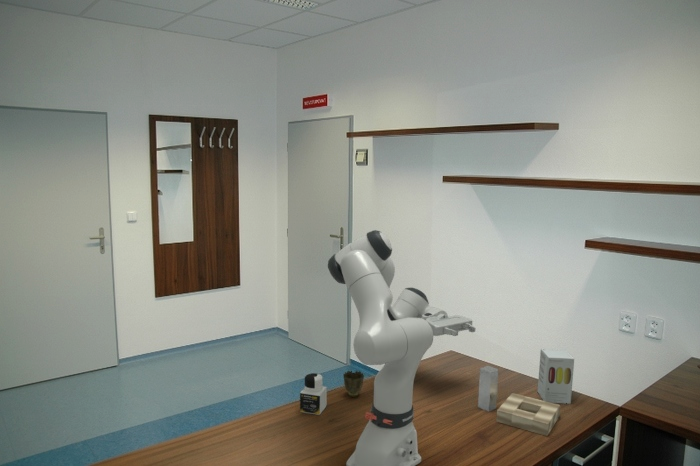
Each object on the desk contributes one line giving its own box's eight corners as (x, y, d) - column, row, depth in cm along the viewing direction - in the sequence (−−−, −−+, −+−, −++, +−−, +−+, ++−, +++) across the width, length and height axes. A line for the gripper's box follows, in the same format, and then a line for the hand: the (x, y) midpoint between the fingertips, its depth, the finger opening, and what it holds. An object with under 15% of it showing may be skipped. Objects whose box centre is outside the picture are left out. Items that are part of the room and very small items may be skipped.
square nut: (547, 436, 163) (548, 424, 162) (496, 421, 172) (497, 410, 171) (559, 416, 176) (560, 405, 175) (511, 403, 185) (512, 392, 184)
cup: (364, 391, 193) (364, 370, 192) (362, 400, 186) (363, 378, 185) (344, 390, 194) (344, 369, 193) (342, 399, 186) (342, 377, 185)
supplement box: (544, 402, 186) (547, 357, 184) (536, 391, 195) (539, 348, 193) (571, 404, 185) (575, 358, 183) (563, 392, 194) (566, 349, 192)
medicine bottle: (299, 412, 176) (299, 378, 175) (307, 403, 183) (307, 370, 181) (319, 415, 174) (319, 380, 173) (326, 406, 181) (327, 372, 179)
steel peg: (488, 411, 178) (490, 372, 177) (478, 407, 182) (479, 368, 180) (496, 408, 181) (498, 369, 180) (485, 403, 185) (487, 365, 183)
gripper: (454, 325, 204) (483, 336, 193) (417, 332, 192) (445, 344, 181) (456, 309, 203) (485, 319, 193) (418, 315, 191) (447, 327, 180)
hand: (465, 331), depth 187 cm, fingers open, 8 cm apart
